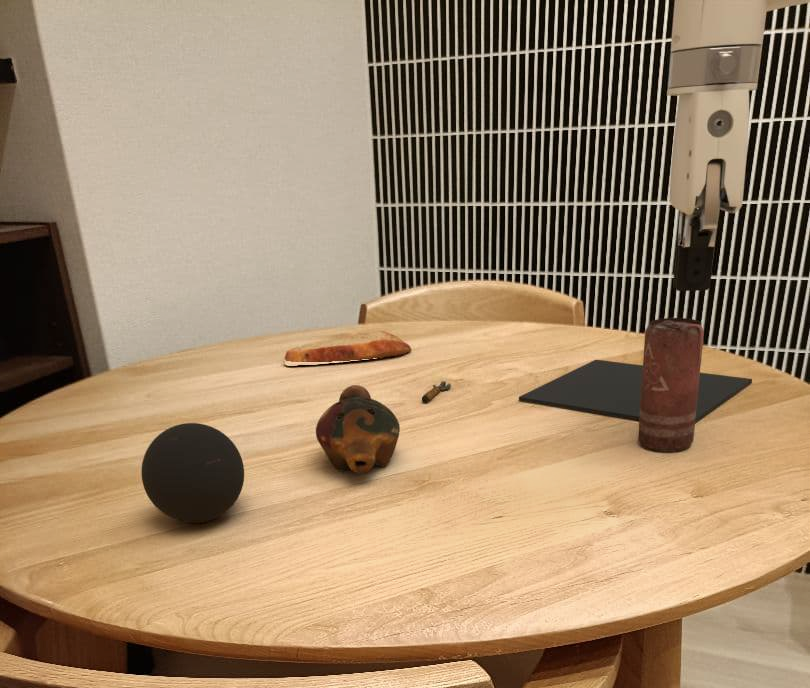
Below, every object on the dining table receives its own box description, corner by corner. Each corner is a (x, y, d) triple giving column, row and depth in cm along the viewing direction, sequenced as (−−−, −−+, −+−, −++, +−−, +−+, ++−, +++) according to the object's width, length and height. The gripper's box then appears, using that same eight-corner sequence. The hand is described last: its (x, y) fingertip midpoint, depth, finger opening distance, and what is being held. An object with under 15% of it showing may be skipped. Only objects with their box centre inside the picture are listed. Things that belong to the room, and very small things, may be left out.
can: (686, 456, 91) (698, 330, 85) (630, 448, 94) (638, 326, 88) (701, 439, 95) (714, 318, 89) (647, 432, 99) (656, 314, 92)
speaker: (230, 541, 79) (213, 443, 75) (135, 538, 81) (112, 443, 77) (263, 499, 88) (250, 409, 84) (177, 497, 90) (159, 410, 85)
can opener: (428, 404, 114) (427, 395, 114) (413, 402, 116) (413, 394, 115) (455, 386, 122) (454, 378, 121) (440, 385, 123) (440, 377, 122)
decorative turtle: (389, 437, 103) (389, 375, 99) (411, 490, 90) (411, 422, 86) (312, 442, 102) (308, 380, 98) (323, 497, 89) (319, 428, 85)
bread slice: (274, 365, 139) (271, 343, 138) (340, 341, 152) (338, 321, 150) (357, 376, 130) (355, 353, 128) (420, 349, 143) (419, 328, 141)
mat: (751, 383, 114) (752, 378, 113) (687, 429, 99) (687, 424, 99) (595, 363, 128) (595, 359, 128) (518, 400, 113) (518, 396, 113)
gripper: (783, 66, 65) (751, 302, 73) (736, 76, 78) (713, 275, 86) (685, 72, 66) (664, 305, 74) (655, 81, 79) (640, 278, 87)
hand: (691, 288), depth 80 cm, fingers closed
